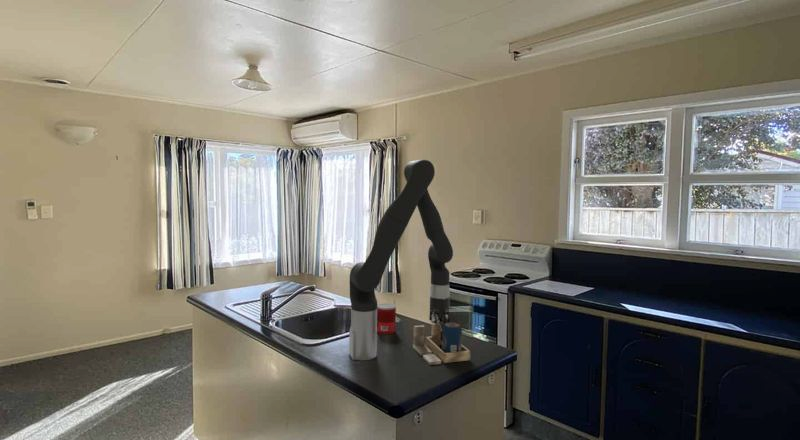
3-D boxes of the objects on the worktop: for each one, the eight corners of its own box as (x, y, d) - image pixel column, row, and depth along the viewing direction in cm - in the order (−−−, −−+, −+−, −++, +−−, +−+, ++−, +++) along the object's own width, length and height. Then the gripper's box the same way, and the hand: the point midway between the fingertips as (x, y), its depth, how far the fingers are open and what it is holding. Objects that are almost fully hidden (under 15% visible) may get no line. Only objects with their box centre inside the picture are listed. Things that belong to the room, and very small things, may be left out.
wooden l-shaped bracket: (429, 365, 142) (430, 341, 142) (412, 347, 158) (413, 326, 158) (441, 363, 143) (441, 340, 143) (423, 346, 160) (423, 325, 159)
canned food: (398, 332, 175) (399, 306, 174) (382, 335, 170) (383, 309, 169) (388, 327, 181) (389, 302, 180) (373, 330, 176) (373, 304, 176)
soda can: (440, 353, 153) (440, 321, 152) (458, 353, 153) (459, 321, 152) (443, 361, 146) (444, 327, 145) (462, 361, 146) (464, 327, 145)
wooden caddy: (443, 363, 143) (444, 339, 143) (425, 345, 160) (425, 323, 159) (470, 360, 146) (470, 336, 146) (449, 342, 163) (449, 321, 162)
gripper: (423, 291, 165) (423, 331, 166) (438, 300, 151) (437, 344, 153) (441, 290, 167) (440, 329, 168) (456, 299, 154) (455, 342, 155)
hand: (439, 336), depth 160 cm, fingers open, 8 cm apart
